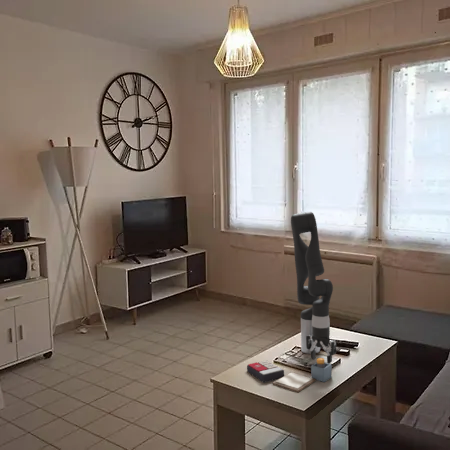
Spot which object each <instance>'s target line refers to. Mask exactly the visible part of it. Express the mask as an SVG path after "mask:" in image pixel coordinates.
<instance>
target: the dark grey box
mask: <svg viewBox="0 0 450 450" xmlns="http://www.w3.org/2000/svg"><path fill="white" fill-rule="evenodd" d="M246 370H247V372H248V373H249V374H250V375H252V376H253V377H255V378H256V379H258V380H259V381H260V382H261V383H263V384H265V383H269V382H274V381H276V380H278V379H279V378H281V377H283V376H284V375H285V370H284V369H283V368H281V367H279V366H278V365H276V364H274V363H273V362H271V361H268V360H262V361H258V362H252V363H248V364H247V366H246Z"/></svg>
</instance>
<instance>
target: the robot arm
mask: <svg viewBox="0 0 450 450" xmlns="http://www.w3.org/2000/svg"><path fill="white" fill-rule="evenodd" d="M316 220H317V219H316V216H315V214H314V213H313V212H312V211H306V212H299V213H295V214H294V213H293V214H292V215H291V217H290V227H291V233H292V240H293V249H294V263H295V265H294V266H295V271H296V272H295V273H296V295H297V296H296V297H297V302H298V303H299V304H300V305H306V306H308V305H310V306H311V307H309V308H306V309H304V310H302V311H301V312H300V348H301V352H302V353H305V354H309V355H310V357H311V360H313V361H315V359H317V358H316V356H317V354H319V352H320V351H321V349H322V350H323V351H324V352H325V353H326V355H327V356H326V363H328V364H331V363H332V362H333V356H334V355H336V354H337V340H332V339H331V338H330V335H331V333H330V331H331V330H330V329H331V327H330V322H331V321H330V303H331V298H332V295H333V291H334V287H333V282H332V281H331V279H328V278H321V279H317V277H319V276H321V275H323V274H324V273H325V267H324V263H323V258H322V255H321V248H320V241H319V232H318V224H317V221H316ZM306 233H310V240H309V244H308V245H307V244H306V243H305V242H304V240H303V239H302V237H301V234H306ZM307 279H308V281H307ZM305 282H307V285H305ZM320 297H321V298H320Z"/></svg>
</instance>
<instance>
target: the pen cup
mask: <svg viewBox="0 0 450 450" xmlns="http://www.w3.org/2000/svg"><path fill="white" fill-rule="evenodd" d="M310 370H311V372H310V373H311V375H310V378H314V379H316V381H318V382H322V383H325V382H328V381H329V380H330V379H331V378H332V364H331V363H329V364H328V363H327V362H325V363H324V368H320V367H317V361H316V362H315V363H313V364H311V367H310Z"/></svg>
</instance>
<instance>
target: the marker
mask: <svg viewBox="0 0 450 450" xmlns="http://www.w3.org/2000/svg"><path fill="white" fill-rule="evenodd" d="M325 361H326V360H325V359H324V357H318V358H316V362H317V367H320V368H324V363H326V362H325Z"/></svg>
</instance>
